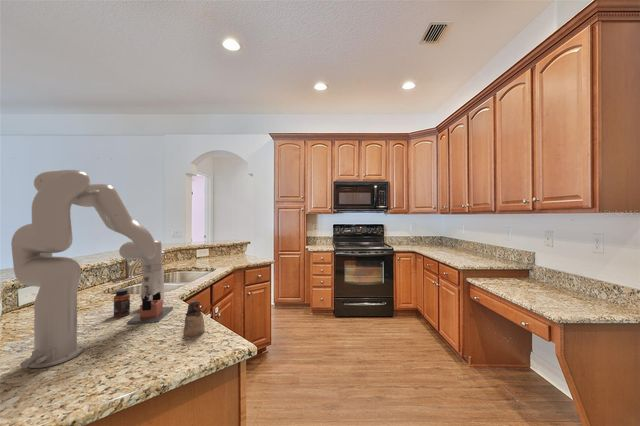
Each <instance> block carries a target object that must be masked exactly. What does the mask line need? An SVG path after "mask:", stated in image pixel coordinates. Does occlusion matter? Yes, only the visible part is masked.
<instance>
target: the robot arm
mask: <svg viewBox="0 0 640 426" xmlns="http://www.w3.org/2000/svg"><path fill="white" fill-rule="evenodd" d="M33 186H34V188H35V189H36V191H37V193H35V196H34V198H33V200H32V202H31V223H28V224H25V225H22V226H20V227H19V228H18V229H16V231H15V232H14V234H13V236H12V238H11V244H10V245H11V255H12V263H13V266H12V267H13V273H14V276H15V278H16V280H17V282H19V283H20V284H22V285H24V286H28V287H38V292H37V294H36V297H35V300H34V306H33V307H34V309H33V310H34V311H33V312H34V313H33V315H34V316H33V319H34V323H33V324H34V328H33V329H34V330H33V331H34V332H33V333H34V334H33V335H34V336H33V338H34V339H33V342H34V343H33V350H32V351H31V355H30V357H29V358H27V359H25V360H23V361H21V362H20V365H19V367H20V368H22V369H26V368H30V369H40V368H48V367H52V366H56V365H59V364H61V363H65V362H67V361H69V360H72V359H75V358H76V357H78V356H79V355H81V353H82V352H84V345H82V344H80V343H78V291H79V290H78V289H79V283H80V279H81V275H82V267H81V264H79V262H78V261H76V260H75V259H73V258H71V257H67V256H53V254H58V253H62V252H65V251H67V250H68V249H70V247H71V246H72V244H73V230H72V229H73V228H72V219H71V217H72V216H71V209H72V205H76V206H80V207H86V208H87V207H88V208H94V210H95V211H96V212H97V214H98V215H99V217H100V219H101V220H102V222H103V224H104V225H105V227H106V228H107V229H109V230H111V231H113V232H114V233H115V232H116V233H117V234H121V235H122V236H125V237H127V238H128V239H130V240H131V241H127V242H125V243H123V244H122V245H121V246H120V247H119V250H118V252H119V256H120V257H121V258H123V259H126V260H137V261H138V260H141V273H142V276H141V277H142V278H141V292H140V298H141V305H142V310H143V311H145V310H151V300H150V298H151V295H153V300H161V290H162V289H163V284H162V272H161V270H162V266H163V265H162V263H163V262H162V259H163V258H162V247H163V245H162V242H161V240H158V239H154V237H153V236H152V234H151V232H150V231H149V230H148V229H147V228H145V227H144V226H143V225H142V224H140V222H138V221H137V220H135V219H134V218H133V217H132V216H131V215H130V213H129V211H128V209H127V207H126V206H125V204H124V203H123V200H122V199H121V197H120V195H119V193H118V191H117V189H115V187H113V186H112V185H110V184H105V183H103V184H102V183H95V184H93V183H92V184H91V179H90V176H89V175H88V174H87V173H86V172H85V171H82V170H77V169H62V170H51V171H49V170H47V171H44V172H41V173H39V174H38V175H36V176H35V178H34V180H33ZM148 293H149V294H148ZM147 296H148V297H147Z"/></svg>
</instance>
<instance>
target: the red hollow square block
mask: <svg viewBox="0 0 640 426" xmlns="http://www.w3.org/2000/svg"><path fill="white" fill-rule="evenodd" d="M151 302H154V303H155V304H151V310H145V311H143V310H142V304H140V305H139V313H140V317H149V316H157V315H158V314H159V313H161V312H162V311H163V307H164V306H163V305H164V303H163V300H152V301H151Z"/></svg>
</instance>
